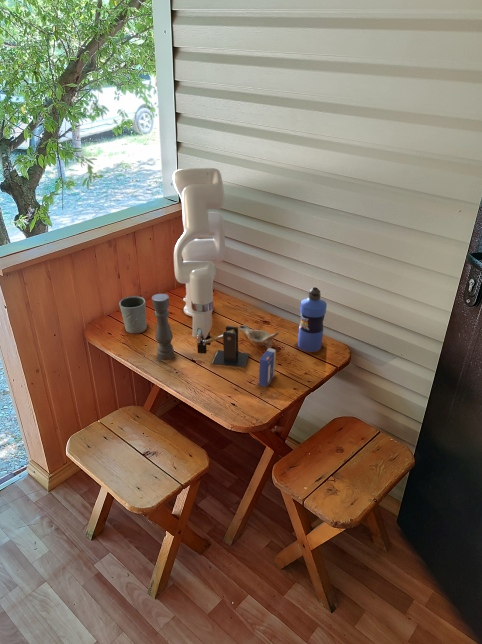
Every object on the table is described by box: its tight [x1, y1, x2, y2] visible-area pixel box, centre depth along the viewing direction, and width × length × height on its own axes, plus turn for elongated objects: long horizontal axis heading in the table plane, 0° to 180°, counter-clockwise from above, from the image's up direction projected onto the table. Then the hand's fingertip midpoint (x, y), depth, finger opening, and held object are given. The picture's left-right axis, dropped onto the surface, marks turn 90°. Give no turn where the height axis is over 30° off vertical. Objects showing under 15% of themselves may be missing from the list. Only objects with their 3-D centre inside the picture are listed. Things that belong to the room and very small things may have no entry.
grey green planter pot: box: [118, 295, 148, 334], centre depth 191 cm, size 10×10×12 cm
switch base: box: [212, 325, 250, 368], centre depth 171 cm, size 12×9×13 cm
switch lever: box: [205, 329, 235, 344], centre depth 170 cm, size 13×5×2 cm, turn 79°
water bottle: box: [297, 287, 328, 353], centre depth 176 cm, size 9×9×25 cm
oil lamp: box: [238, 324, 280, 349], centre depth 183 cm, size 9×21×10 cm, turn 40°
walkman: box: [258, 347, 277, 388], centre depth 161 cm, size 8×3×12 cm, turn 155°
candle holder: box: [151, 293, 175, 363], centre depth 169 cm, size 6×6×25 cm
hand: (204, 348), depth 174 cm, fingers closed on switch lever, 5 cm apart
